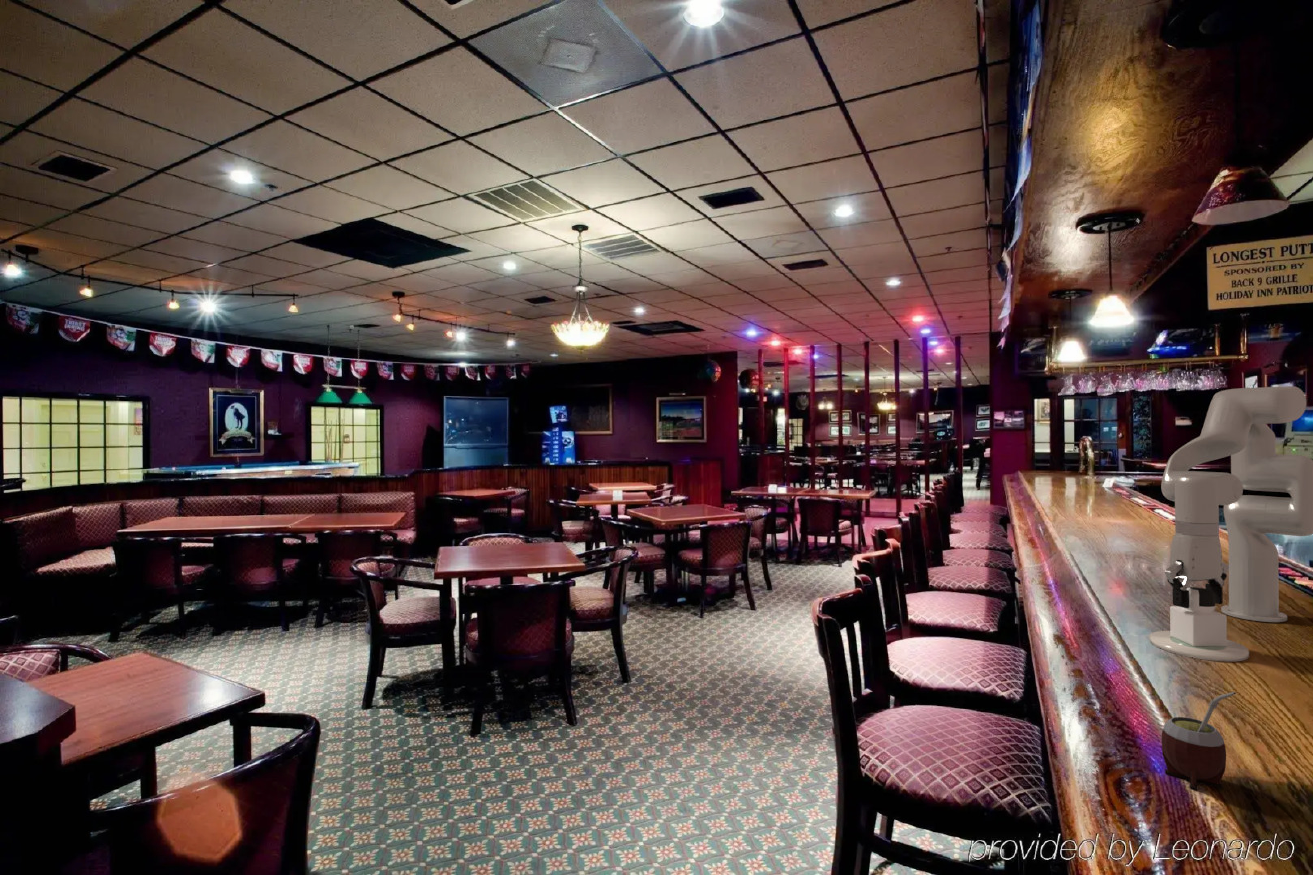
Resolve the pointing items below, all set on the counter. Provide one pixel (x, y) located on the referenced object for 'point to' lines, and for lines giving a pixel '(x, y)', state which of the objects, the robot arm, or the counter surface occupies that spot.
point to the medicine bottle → (1199, 620)
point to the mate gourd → (1195, 749)
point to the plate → (1199, 648)
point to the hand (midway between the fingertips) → (1197, 604)
